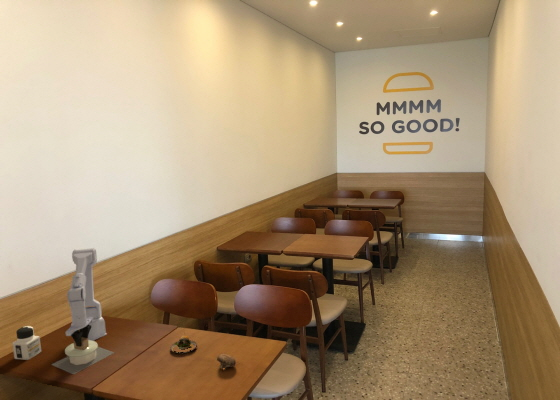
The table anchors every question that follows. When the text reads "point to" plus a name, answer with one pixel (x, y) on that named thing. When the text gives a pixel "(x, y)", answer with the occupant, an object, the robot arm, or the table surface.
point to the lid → (81, 348)
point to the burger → (184, 344)
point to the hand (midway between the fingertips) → (81, 344)
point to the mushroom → (226, 360)
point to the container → (26, 344)
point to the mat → (73, 368)
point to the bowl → (83, 359)
